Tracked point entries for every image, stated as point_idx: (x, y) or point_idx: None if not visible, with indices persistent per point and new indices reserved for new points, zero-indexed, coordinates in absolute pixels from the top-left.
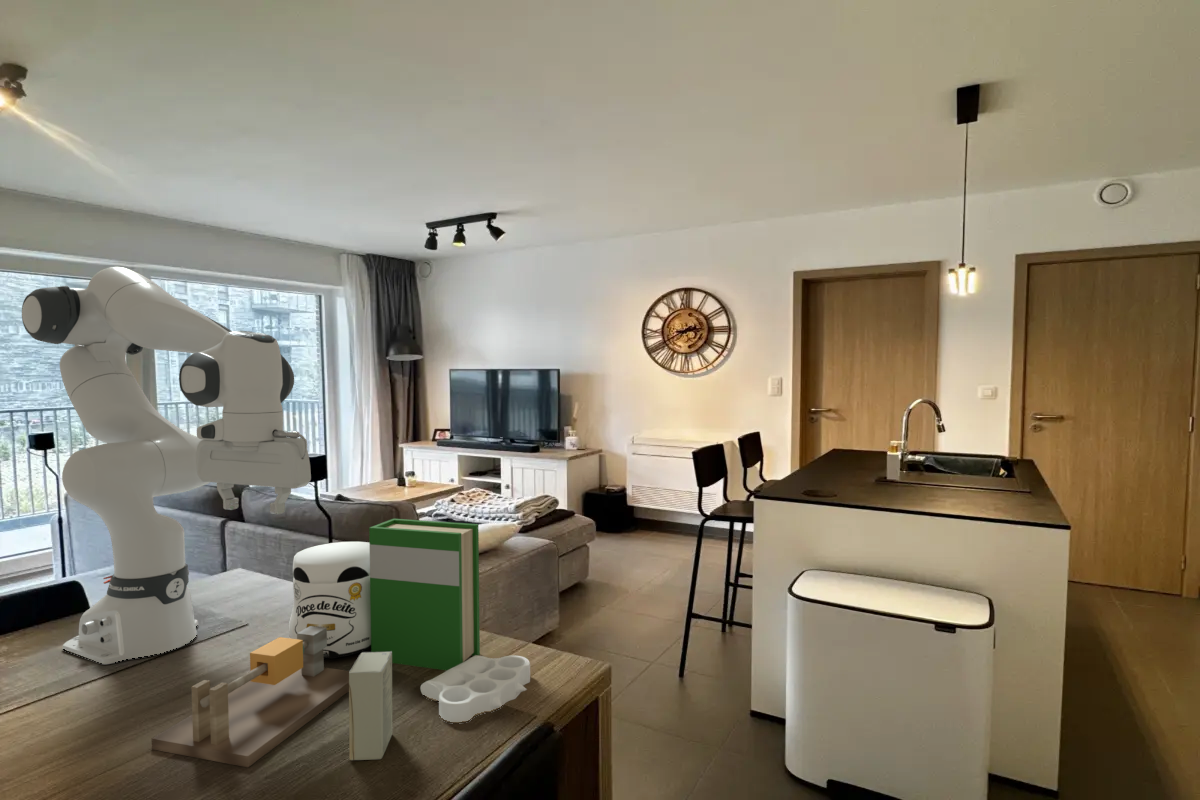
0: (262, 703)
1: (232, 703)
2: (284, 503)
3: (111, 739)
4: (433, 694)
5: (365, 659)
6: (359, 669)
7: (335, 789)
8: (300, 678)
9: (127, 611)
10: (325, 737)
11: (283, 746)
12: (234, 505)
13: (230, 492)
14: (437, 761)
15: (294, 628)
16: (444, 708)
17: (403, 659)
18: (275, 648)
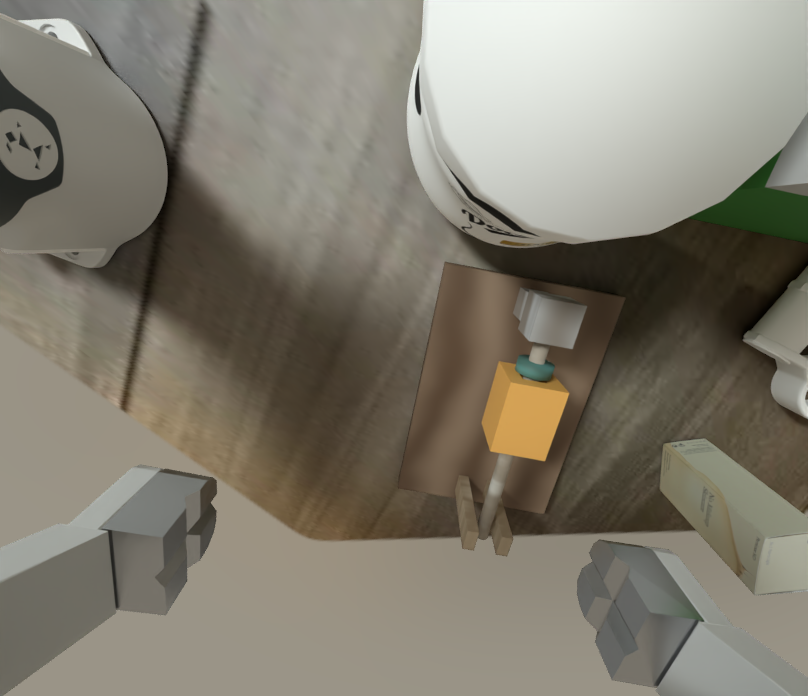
0: None
1: (448, 408)
2: (718, 615)
3: (330, 463)
4: (769, 354)
5: (777, 559)
6: (771, 586)
7: (657, 530)
8: (517, 327)
9: (18, 240)
10: (610, 447)
11: (562, 467)
12: (197, 522)
13: (26, 602)
14: (772, 485)
15: (459, 225)
16: (799, 414)
17: (692, 217)
18: (530, 431)
